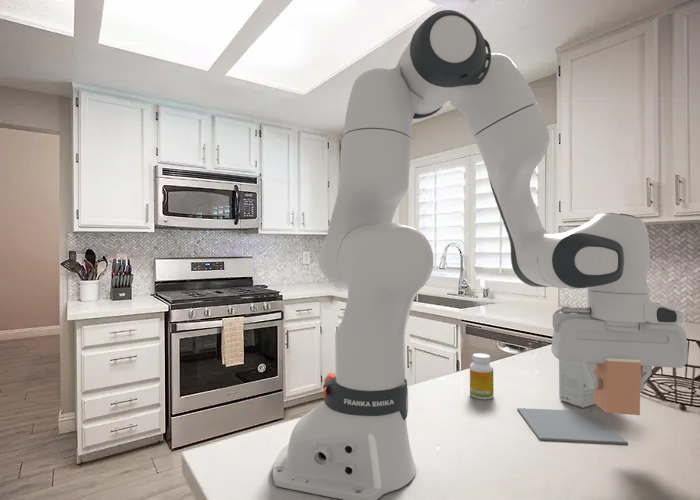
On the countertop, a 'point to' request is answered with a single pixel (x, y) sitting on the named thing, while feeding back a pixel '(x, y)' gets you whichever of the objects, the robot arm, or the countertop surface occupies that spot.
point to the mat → (569, 426)
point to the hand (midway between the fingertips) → (615, 389)
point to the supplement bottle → (481, 377)
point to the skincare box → (574, 384)
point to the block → (619, 386)
